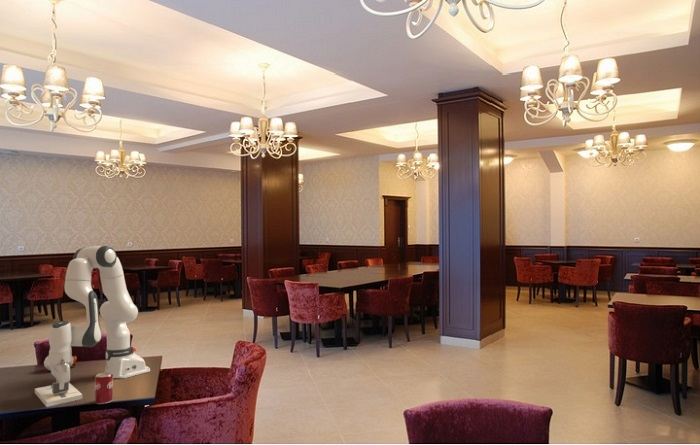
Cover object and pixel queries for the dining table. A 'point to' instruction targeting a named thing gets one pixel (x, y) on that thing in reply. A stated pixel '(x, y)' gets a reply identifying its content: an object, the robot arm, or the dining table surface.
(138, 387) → the dining table surface
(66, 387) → the fader
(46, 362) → the potion bottle
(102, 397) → the soda can
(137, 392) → the dining table surface
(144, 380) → the dining table surface
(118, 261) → the robot arm
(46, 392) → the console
